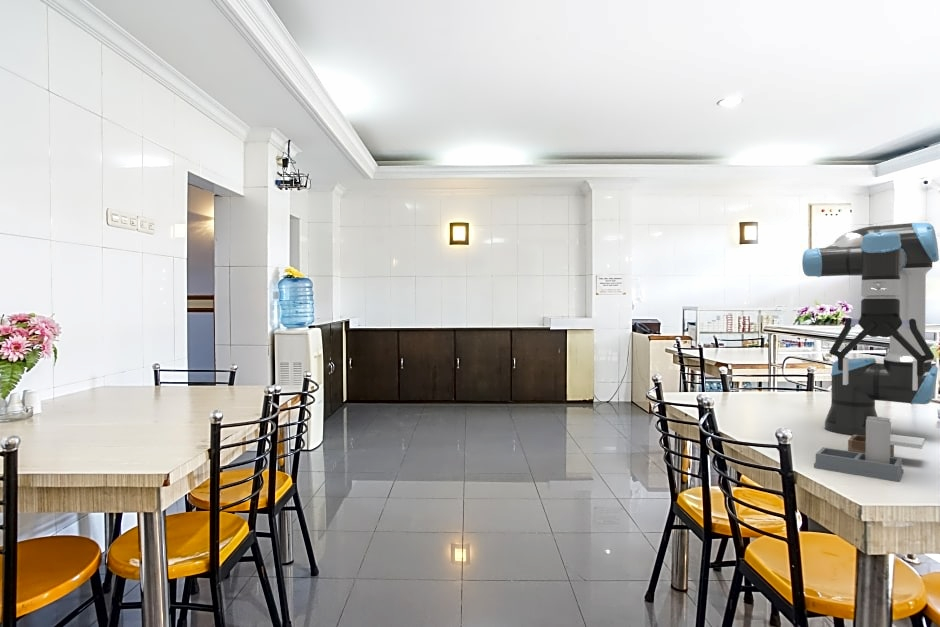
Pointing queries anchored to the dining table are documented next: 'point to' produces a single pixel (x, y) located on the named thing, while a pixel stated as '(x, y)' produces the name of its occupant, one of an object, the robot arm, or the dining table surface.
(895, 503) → the dining table surface
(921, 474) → the dining table surface
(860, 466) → the socket board
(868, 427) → the beverage can
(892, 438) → the lid
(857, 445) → the tray
